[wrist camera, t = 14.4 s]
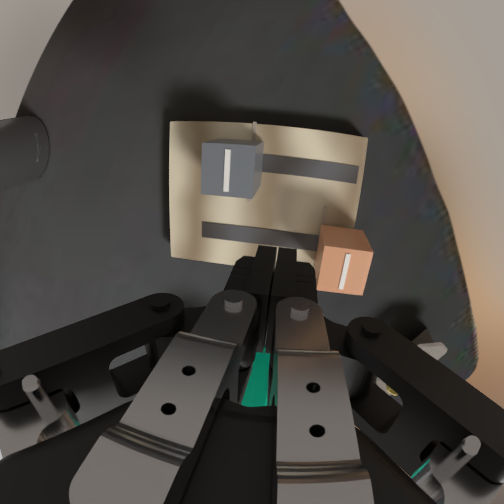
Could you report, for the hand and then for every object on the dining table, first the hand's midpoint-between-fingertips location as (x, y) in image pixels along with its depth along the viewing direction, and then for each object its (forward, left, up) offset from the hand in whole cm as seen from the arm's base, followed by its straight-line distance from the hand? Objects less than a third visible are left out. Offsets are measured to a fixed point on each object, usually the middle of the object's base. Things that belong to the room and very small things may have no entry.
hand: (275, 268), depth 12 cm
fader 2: (+5, -5, -16) cm, 18 cm away
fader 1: (-5, +2, -16) cm, 17 cm away
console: (-3, -2, -19) cm, 19 cm away
